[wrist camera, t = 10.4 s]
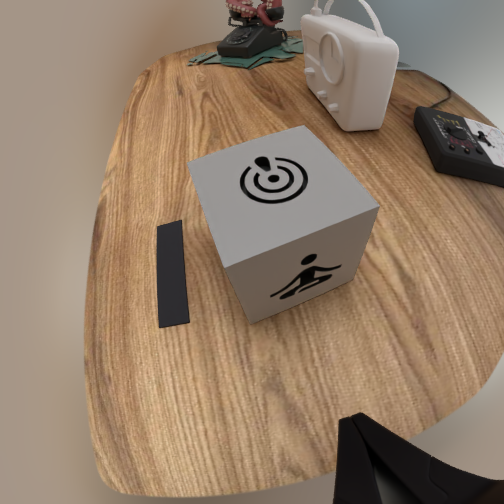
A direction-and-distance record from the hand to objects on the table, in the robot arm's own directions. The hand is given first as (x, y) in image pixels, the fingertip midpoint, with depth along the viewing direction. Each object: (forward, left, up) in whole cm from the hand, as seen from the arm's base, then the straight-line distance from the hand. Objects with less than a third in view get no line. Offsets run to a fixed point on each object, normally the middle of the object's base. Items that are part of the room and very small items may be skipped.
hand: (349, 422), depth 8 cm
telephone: (+58, -62, -13) cm, 86 cm away
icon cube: (+11, -9, -13) cm, 19 cm away
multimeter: (-3, -43, -13) cm, 45 cm away
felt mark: (+19, -2, -13) cm, 23 cm away
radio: (+21, -39, -13) cm, 46 cm away
